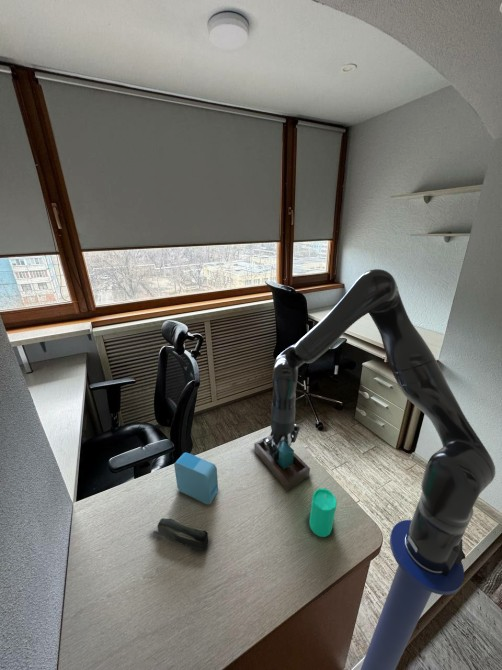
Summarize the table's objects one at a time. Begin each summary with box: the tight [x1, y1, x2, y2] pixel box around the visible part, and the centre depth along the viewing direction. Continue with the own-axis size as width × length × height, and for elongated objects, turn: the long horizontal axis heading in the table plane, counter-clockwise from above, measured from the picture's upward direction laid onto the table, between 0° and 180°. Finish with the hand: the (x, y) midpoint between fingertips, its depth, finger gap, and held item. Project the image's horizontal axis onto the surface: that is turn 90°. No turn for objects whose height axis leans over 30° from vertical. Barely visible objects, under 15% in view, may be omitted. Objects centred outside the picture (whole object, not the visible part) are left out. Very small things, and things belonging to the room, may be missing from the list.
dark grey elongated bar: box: [152, 517, 209, 551], centre depth 69 cm, size 5×3×15 cm
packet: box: [269, 441, 295, 470], centre depth 90 cm, size 4×8×6 cm, turn 33°
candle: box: [309, 487, 337, 538], centre depth 71 cm, size 6×6×12 cm
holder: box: [253, 435, 311, 491], centre depth 91 cm, size 18×9×4 cm, turn 33°
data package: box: [173, 452, 219, 505], centre depth 80 cm, size 12×4×12 cm, turn 65°
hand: (280, 455), depth 90 cm, fingers closed on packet, 4 cm apart
